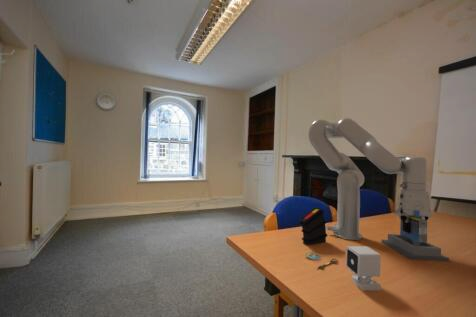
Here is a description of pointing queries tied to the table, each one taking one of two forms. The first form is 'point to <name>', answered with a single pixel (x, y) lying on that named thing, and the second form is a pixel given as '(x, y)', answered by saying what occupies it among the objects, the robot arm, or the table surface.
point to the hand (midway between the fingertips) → (413, 231)
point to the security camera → (363, 266)
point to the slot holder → (414, 248)
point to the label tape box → (416, 229)
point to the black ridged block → (313, 227)
